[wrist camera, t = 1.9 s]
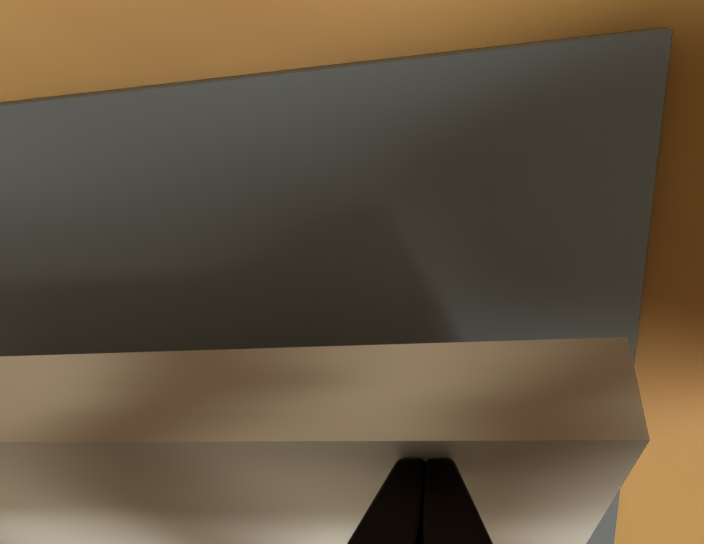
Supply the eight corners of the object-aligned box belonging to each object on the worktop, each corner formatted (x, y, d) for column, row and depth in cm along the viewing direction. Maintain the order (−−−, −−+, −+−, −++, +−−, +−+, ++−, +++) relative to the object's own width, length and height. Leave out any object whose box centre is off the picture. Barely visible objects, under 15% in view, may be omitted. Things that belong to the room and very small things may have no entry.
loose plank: (627, 337, 9) (650, 440, 8) (560, 512, 17) (568, 572, 16) (-277, 365, 12) (-330, 443, 11) (35, 503, 20) (18, 554, 19)
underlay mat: (667, 26, 11) (672, 30, 11) (600, 636, 20) (601, 646, 20) (-217, 127, 14) (-229, 131, 14) (76, 610, 24) (72, 618, 24)
